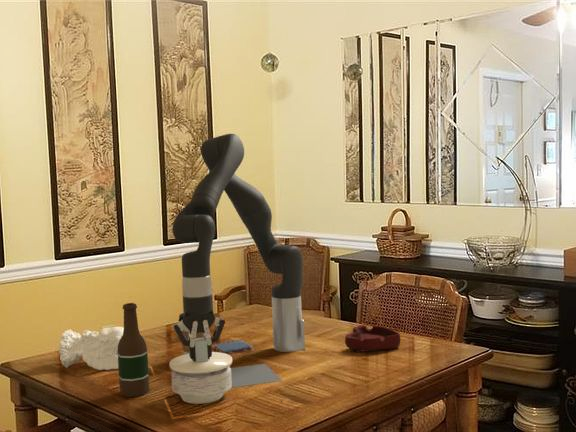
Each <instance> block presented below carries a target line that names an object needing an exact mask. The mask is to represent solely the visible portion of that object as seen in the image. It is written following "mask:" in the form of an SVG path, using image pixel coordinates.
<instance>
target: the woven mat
mask: <svg viewBox="0 0 576 432" xmlns="http://www.w3.org/2000/svg"><path fill="white" fill-rule="evenodd" d="M213 345H214V346H213V349H214V350H216V351H217V352H219V353H225V354H228V355H233V354H234V355H235V354H241V353H245V352H246V353H247V352H251V351H255V349H254V346H253V345H251V344H249V343H247V342H245V341H243V340H241V339H236V340H231V341H226V342H222V343H220V342H219V343H217V344H216V343H213Z"/></svg>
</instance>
